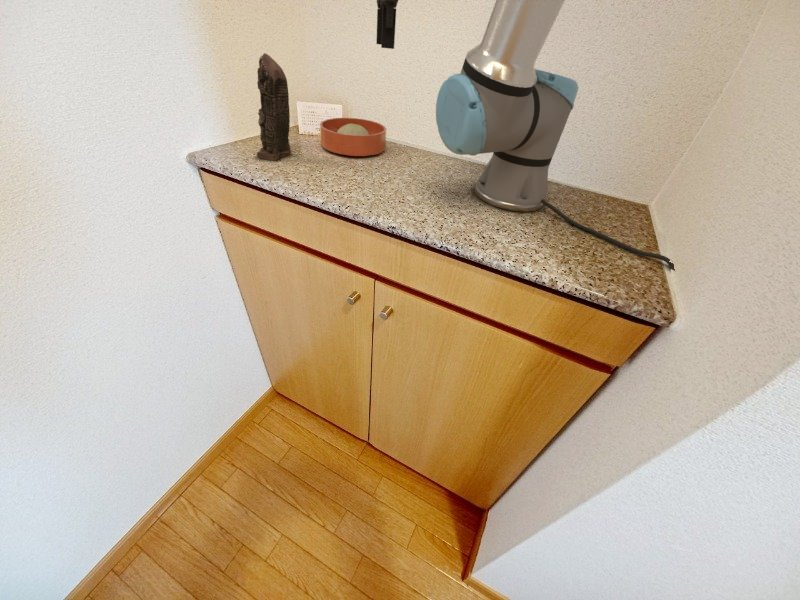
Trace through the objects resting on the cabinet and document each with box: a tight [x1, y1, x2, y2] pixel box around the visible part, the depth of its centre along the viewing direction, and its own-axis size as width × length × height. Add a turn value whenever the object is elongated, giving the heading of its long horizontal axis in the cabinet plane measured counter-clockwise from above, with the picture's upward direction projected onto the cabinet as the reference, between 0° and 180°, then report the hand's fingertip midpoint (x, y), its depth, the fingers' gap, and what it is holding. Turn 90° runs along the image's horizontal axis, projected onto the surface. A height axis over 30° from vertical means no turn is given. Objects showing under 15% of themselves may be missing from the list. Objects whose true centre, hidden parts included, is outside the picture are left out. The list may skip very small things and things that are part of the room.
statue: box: [256, 52, 292, 162], centre depth 71 cm, size 7×7×20 cm
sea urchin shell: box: [337, 124, 369, 135], centre depth 86 cm, size 9×8×8 cm
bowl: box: [319, 117, 387, 157], centre depth 86 cm, size 17×17×6 cm
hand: (384, 46), depth 75 cm, fingers open, 13 cm apart
